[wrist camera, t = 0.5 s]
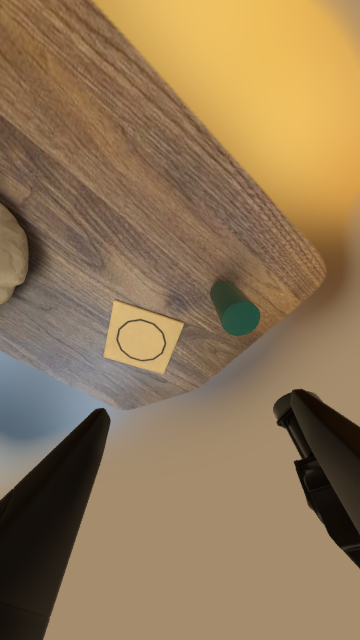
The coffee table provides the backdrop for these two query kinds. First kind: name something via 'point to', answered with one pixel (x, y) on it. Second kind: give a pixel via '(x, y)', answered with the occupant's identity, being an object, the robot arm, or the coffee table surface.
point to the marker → (234, 309)
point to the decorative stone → (11, 254)
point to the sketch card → (141, 337)
